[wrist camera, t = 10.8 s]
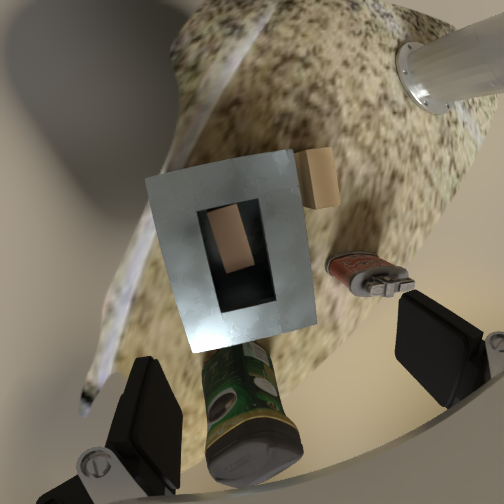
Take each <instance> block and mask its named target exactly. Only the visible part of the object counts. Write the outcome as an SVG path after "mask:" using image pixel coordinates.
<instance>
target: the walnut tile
mask: <svg viewBox="0 0 504 504" xmlns="http://www.w3.org/2000/svg"><path fill="white" fill-rule="evenodd" d="M207 215H208V218H209V221H210V224H211V228H212V231H213V234H214V237H215V240H216V243H217V246H218V249H219V252H220V255H221V258H222V261H223V264H224V267H225V270H226V273H230V272H233V271H237V270H240V269H243V268H246V267H249V266H252V265H255V263H254V260H253V257H252V253H251V250H250V247H249V243H248V240H247V237H246V233H245V230H244V227H243V223H242V220H241V217H240V213H239V210H238V207H237V203H232V204H228V205H223V206H218V207H213V208H209V209H207Z"/></svg>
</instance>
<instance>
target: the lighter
mask: <svg viewBox="0 0 504 504" xmlns="http://www.w3.org/2000/svg"><path fill="white" fill-rule="evenodd" d="M325 270H326V272H327V273H328V274H329V275H330V276H332V277H335V278H337V279H338V280H339V281H340V282H342V283H343V284H344V285H345V286H347V287H348V288H349V291H350V292H351V293H352V294H354V295H355V296H361V297H375V296H383V297H393V295H394V293H398V292H404V291H410V290H413V289H414V287H415V281H414V280H412V279H411V278H409V277H408V271H407V270H406V269H404V268H402V267H399V266H395V265H393V264H391V263H389V262H387V261H385V260H383V259H381V258H379V257H378V255H376V254H374V253H371V252H365V251H351V252H344V253H340V254H336V255H333V256H330V257H329V258H328V259H327V261H326V263H325Z"/></svg>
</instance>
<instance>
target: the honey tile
mask: <svg viewBox="0 0 504 504" xmlns="http://www.w3.org/2000/svg"><path fill="white" fill-rule="evenodd" d="M294 158H295V164H296V169H297V175H298V181H299V187H300V193H301V199H302V205H303V206H305V207H308V208H312V209H315V210H317V209H322V208H327V207H333V206H338V205H341V203H340V196H339V189H338V182H337V175H336V169H335V163H334V157H333V152H332V147H326V148H317V149H309V150H304V151H301V152H297V153H294Z"/></svg>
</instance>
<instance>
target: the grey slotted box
mask: <svg viewBox="0 0 504 504" xmlns="http://www.w3.org/2000/svg"><path fill="white" fill-rule="evenodd" d="M145 183H146V188H147V192H148V197H149V202H150V206H151V210H152V215H153V219H154V223H155V227H156V231H157V235H158V239H159V243H160V247H161V251H162V255H163V259H164V262H165V266H166V269H167V273H168V276H169V280H170V283H171V287H172V290H173V293H174V297H175V300H176V303H177V306H178V310H179V313H180V316H181V319H182V322H183V325H184V328H185V331H186V334H187V337H188V340H189V343H190V346H191V348H192V351H193V353H197V352H203V351H208V350H213V349H218V348H223V347H227V346H232V345H237V344H241V343H245V342H250V341H254V340H258V339H262V338H267V337H271V336H275V335H279V334H282V333H286V332H290V331H294V330H297V329H301V328H305V327H308V326H312V325H315V324H317V315H316V305H315V296H314V287H313V278H312V270H311V262H310V254H309V246H308V239H307V232H306V225H305V218H304V212H303V205H302V199H301V193H300V187H299V181H298V175H297V169H296V164H295V158H294V153H293V149H287V150H280V151H273V152H267V153H261V154H255V155H249V156H243V157H238V158H232V159H227V160H222V161H217V162H212V163H207V164H202V165H198V166H193V167H189V168H185V169H180V170H176V171H172V172H168V173H164V174H160V175H156V176H152V177H149V178H145ZM232 203H237V207H238V210H239V213H240V217H241V220H242V223H243V227H244V230H245V233H246V237H247V240H248V243H249V247H250V250H251V253H252V257H253V260H254V263H255V265H252V266H249V267H246V268H243V269H240V270H237V271H233V272H230V273H226V270H225V267H224V264H223V261H222V258H221V255H220V252H219V249H218V246H217V243H216V240H215V237H214V234H213V231H212V228H211V224H210V221H209V218H208V215H207V209H209V208H213V207H218V206H223V205H228V204H232Z"/></svg>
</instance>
